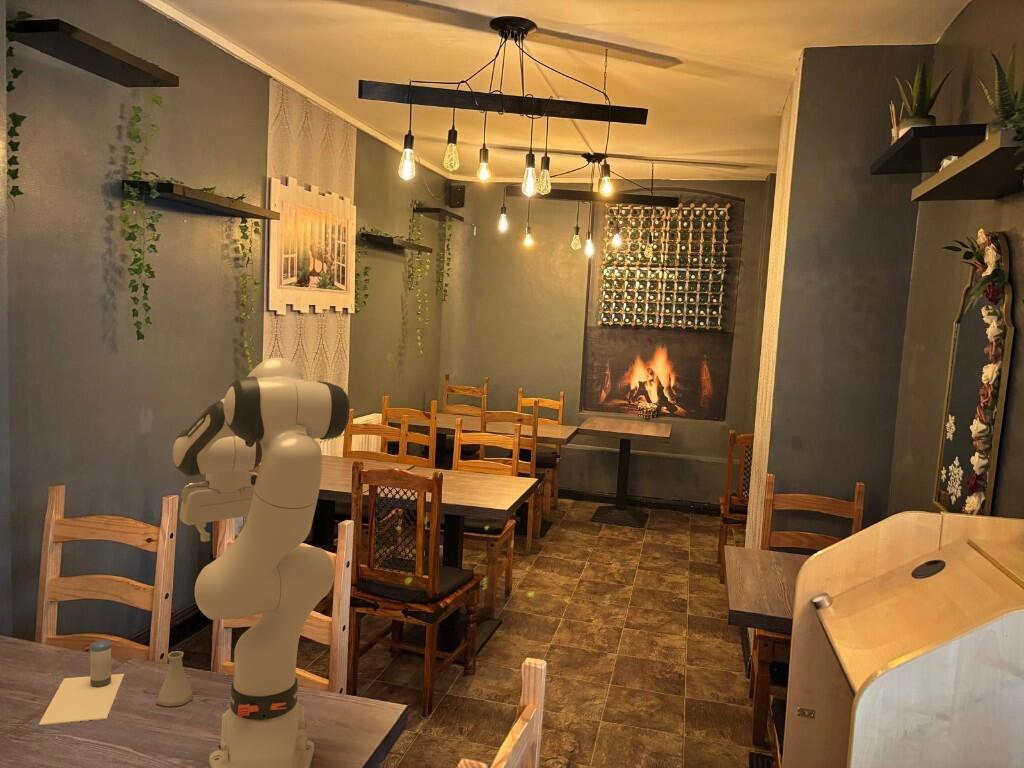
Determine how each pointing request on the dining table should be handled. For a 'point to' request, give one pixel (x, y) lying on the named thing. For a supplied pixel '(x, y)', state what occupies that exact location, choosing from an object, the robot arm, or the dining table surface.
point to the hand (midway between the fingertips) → (224, 537)
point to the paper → (81, 701)
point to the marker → (100, 663)
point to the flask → (175, 683)
